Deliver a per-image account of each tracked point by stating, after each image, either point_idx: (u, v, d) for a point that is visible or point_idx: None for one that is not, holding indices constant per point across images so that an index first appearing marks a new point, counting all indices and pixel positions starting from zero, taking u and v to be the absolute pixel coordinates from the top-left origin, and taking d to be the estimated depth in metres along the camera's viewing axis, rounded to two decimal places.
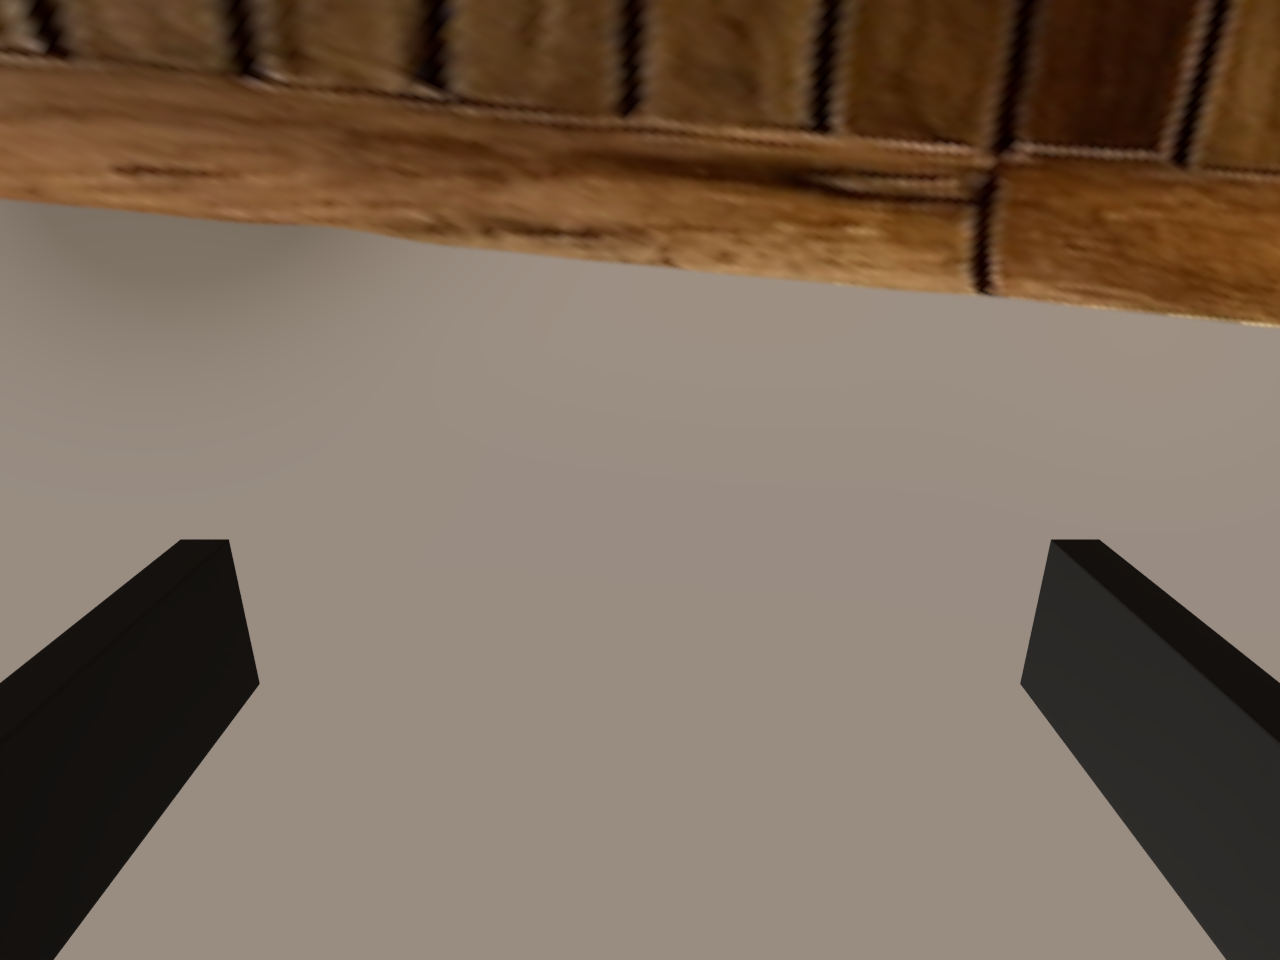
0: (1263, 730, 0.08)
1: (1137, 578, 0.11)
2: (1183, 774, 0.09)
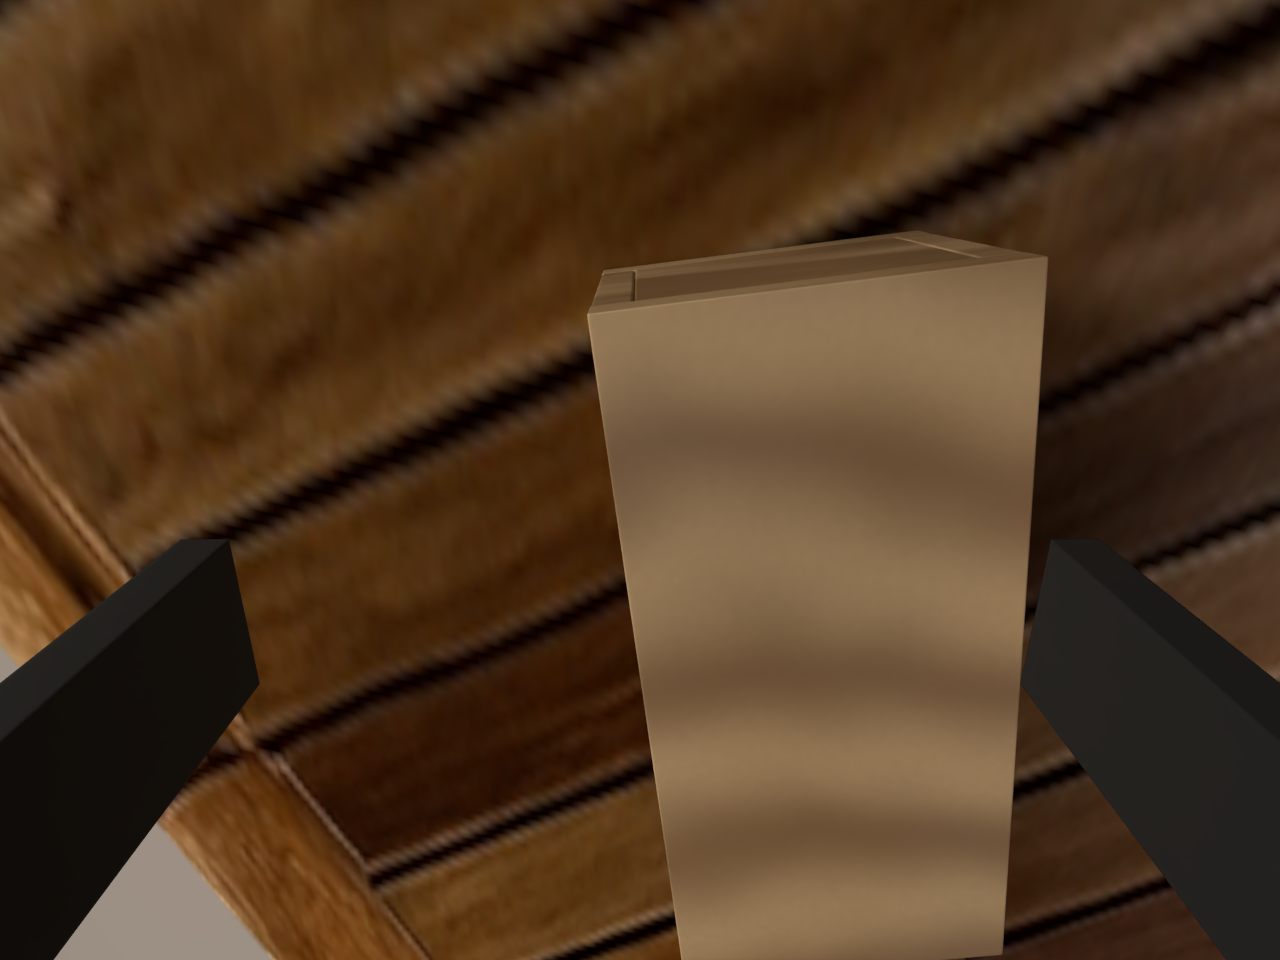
0: (1263, 730, 0.08)
1: (1137, 578, 0.11)
2: (1183, 774, 0.09)
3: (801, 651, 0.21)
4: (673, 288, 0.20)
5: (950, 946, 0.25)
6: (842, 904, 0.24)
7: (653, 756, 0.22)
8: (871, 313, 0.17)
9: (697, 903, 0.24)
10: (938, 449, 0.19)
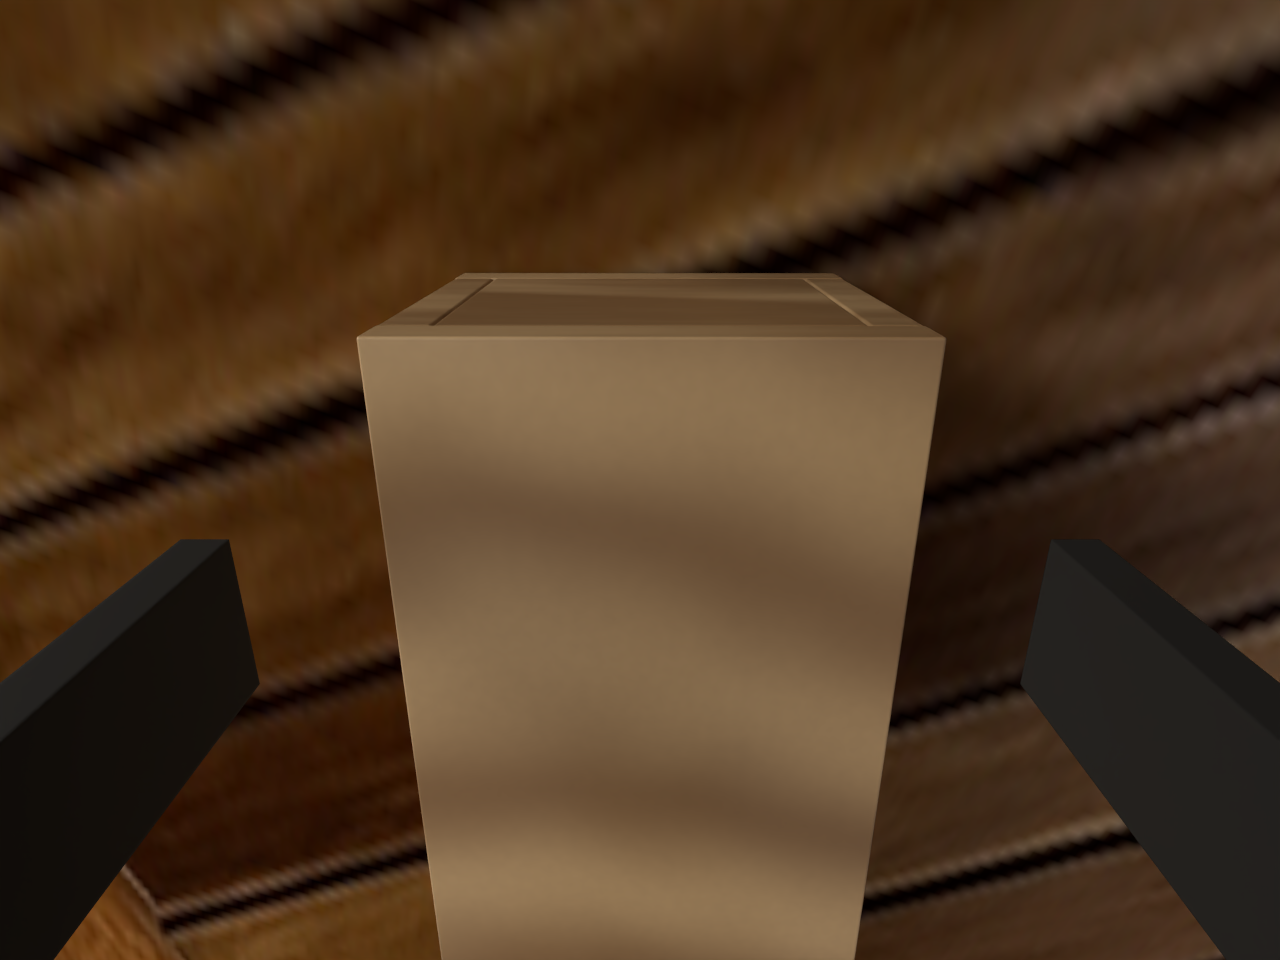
0: (1263, 730, 0.08)
1: (1137, 578, 0.11)
2: (1182, 774, 0.09)
3: (614, 771, 0.17)
4: (497, 313, 0.16)
5: None
6: None
7: (430, 870, 0.18)
8: (720, 380, 0.14)
9: None
10: (793, 555, 0.15)
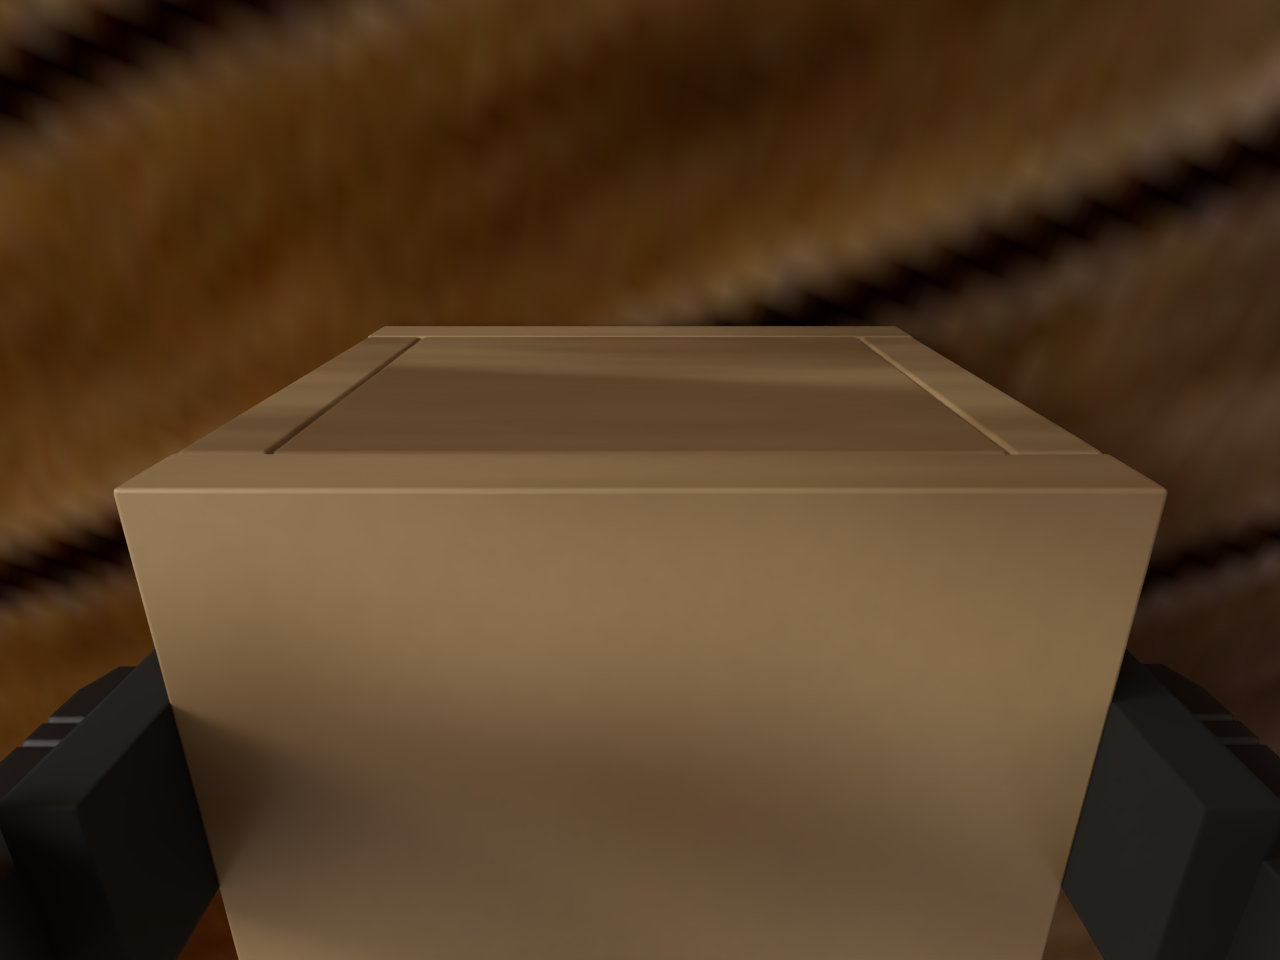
0: None
1: None
2: None
3: None
4: (395, 417, 0.10)
5: None
6: None
7: None
8: (763, 560, 0.08)
9: None
10: (879, 825, 0.09)
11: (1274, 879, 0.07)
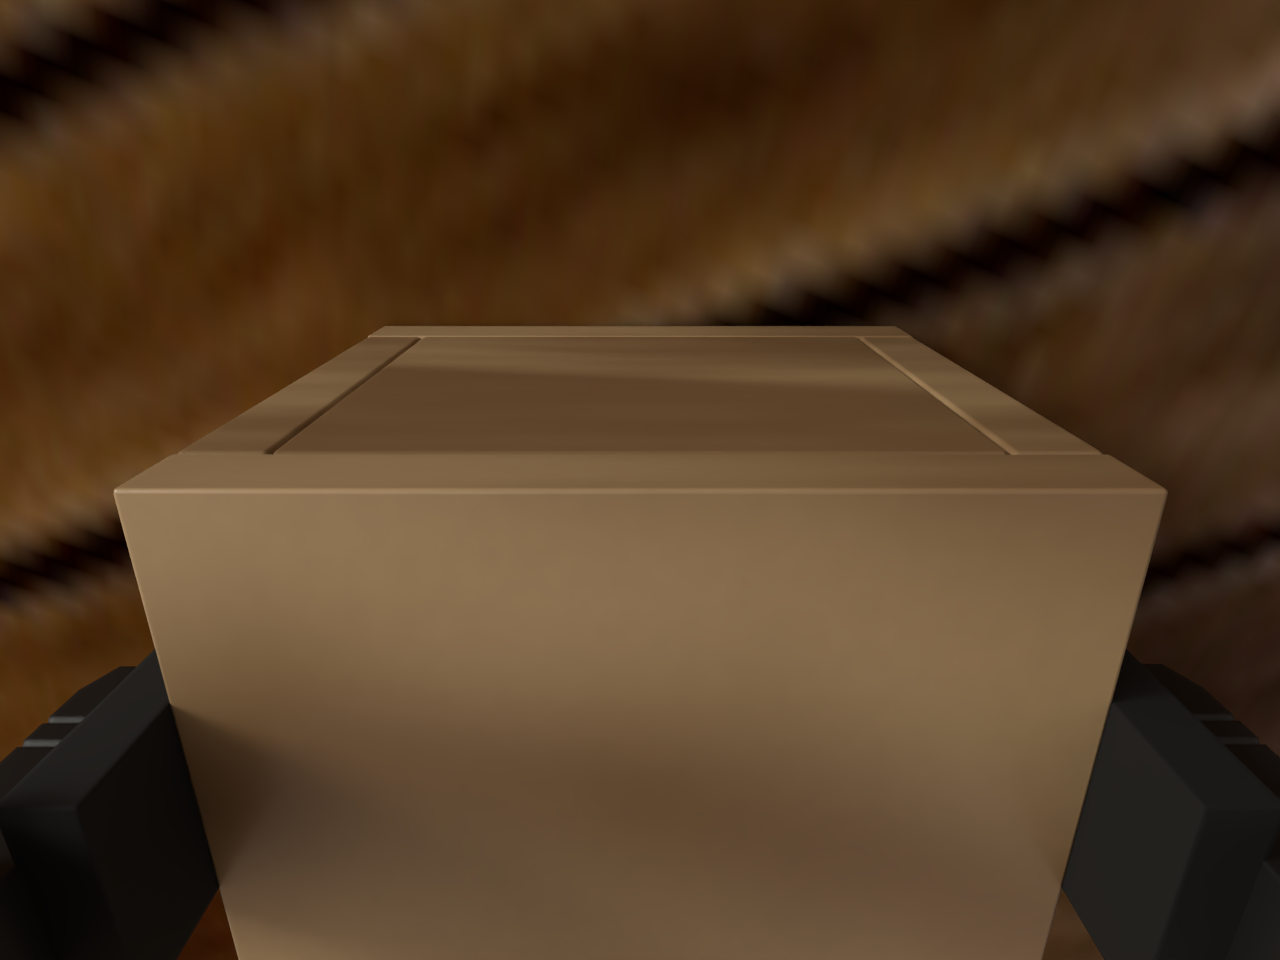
0: None
1: None
2: None
3: None
4: (394, 418, 0.10)
5: None
6: None
7: None
8: (763, 560, 0.08)
9: None
10: (879, 825, 0.09)
11: (1274, 879, 0.07)
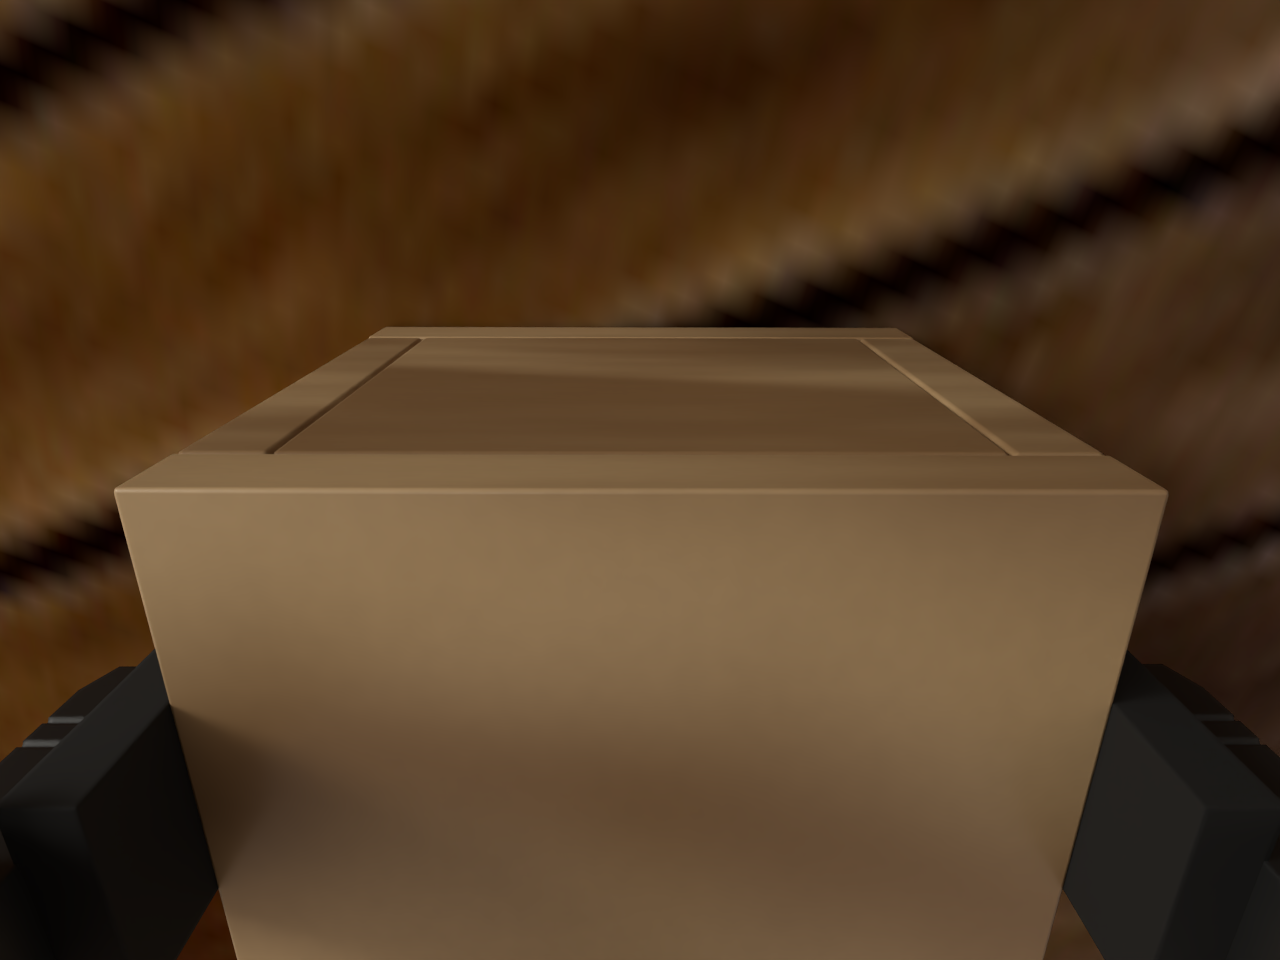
0: None
1: None
2: None
3: None
4: (395, 418, 0.10)
5: None
6: None
7: None
8: (764, 561, 0.08)
9: None
10: (879, 827, 0.09)
11: (1275, 879, 0.07)
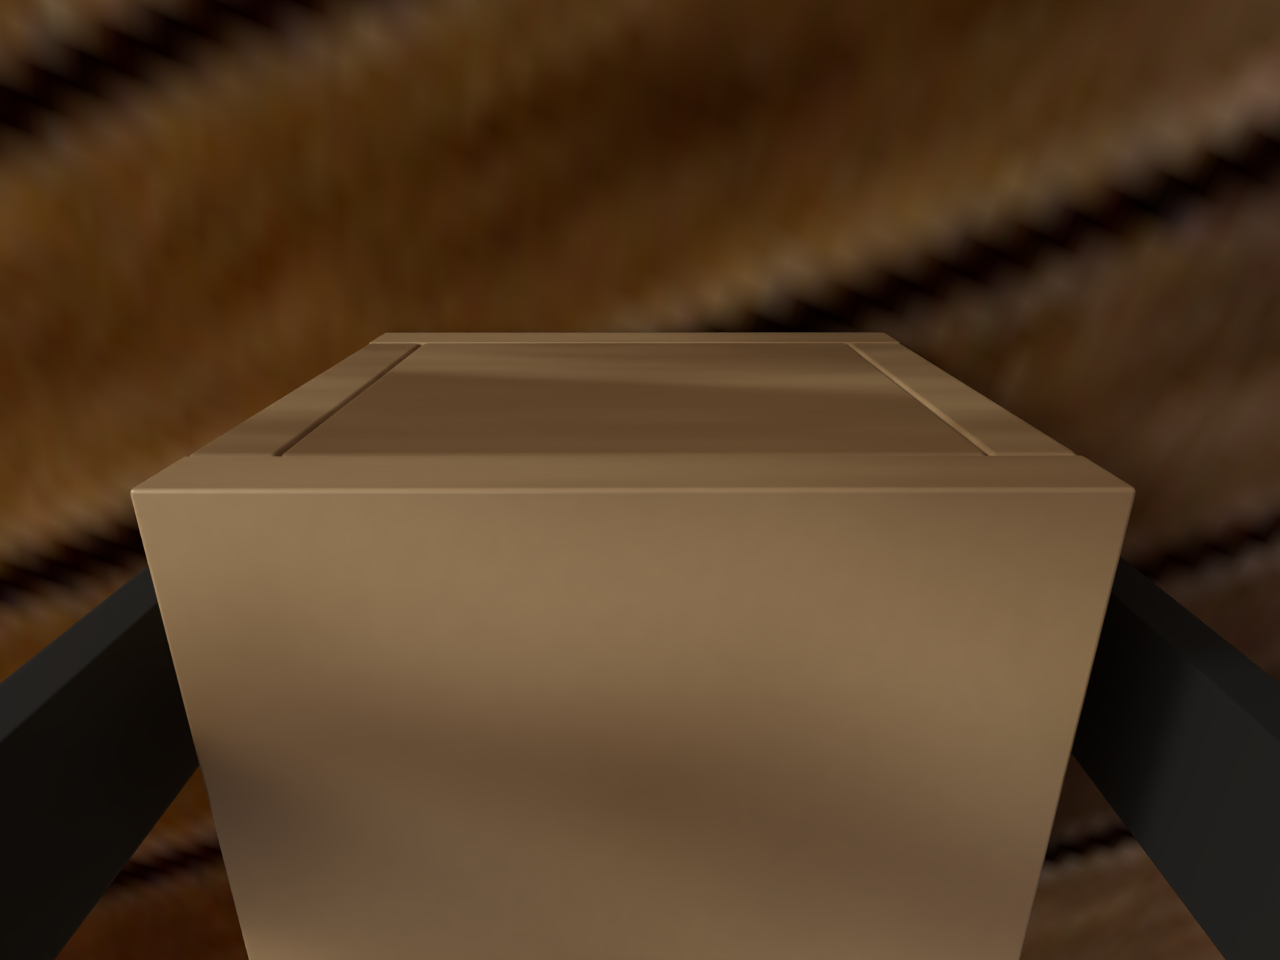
0: (1262, 729, 0.08)
1: (1137, 578, 0.11)
2: (1182, 773, 0.09)
3: None
4: (398, 421, 0.10)
5: None
6: None
7: None
8: (752, 557, 0.08)
9: None
10: (865, 813, 0.09)
11: None
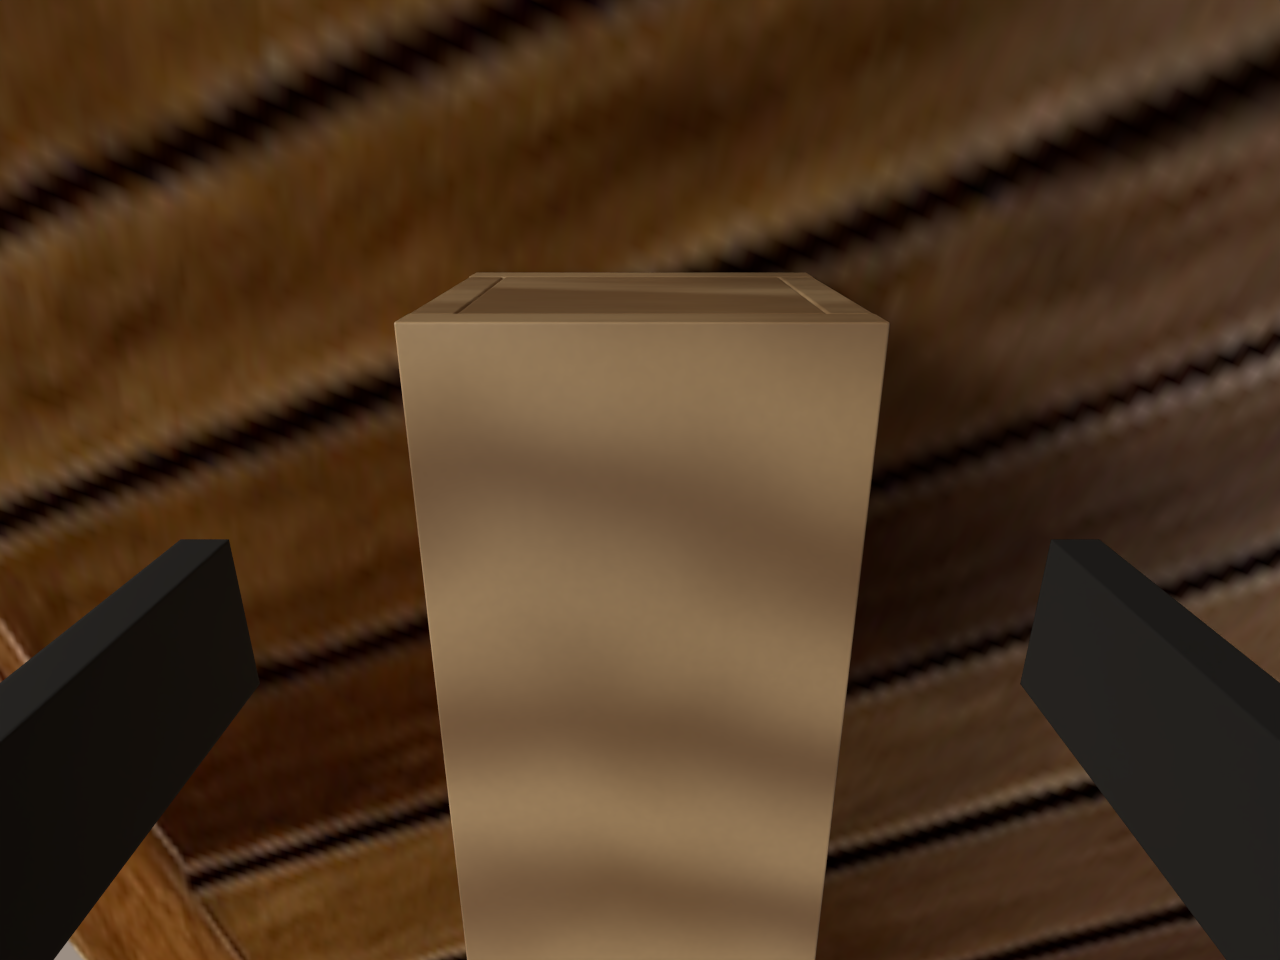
0: (1264, 730, 0.08)
1: (1137, 578, 0.11)
2: (1182, 773, 0.09)
3: (611, 704, 0.19)
4: (510, 304, 0.18)
5: None
6: None
7: (449, 796, 0.20)
8: (700, 359, 0.16)
9: (491, 951, 0.23)
10: (764, 510, 0.17)
11: None
